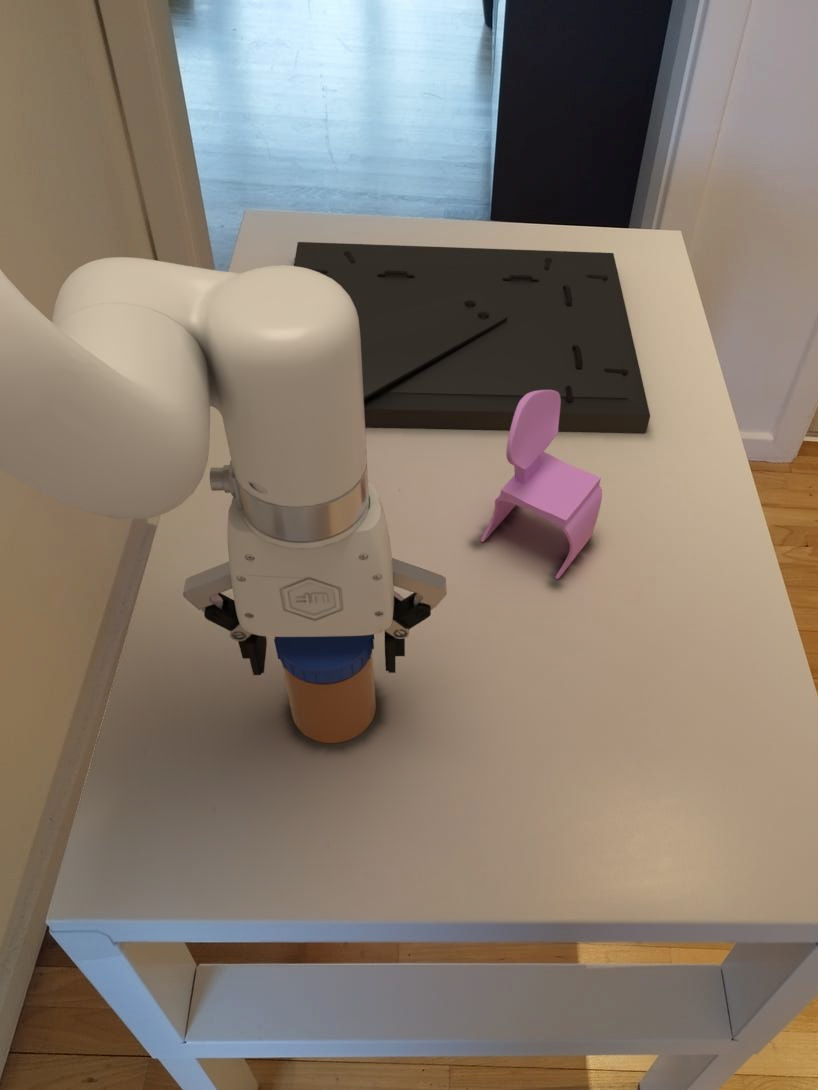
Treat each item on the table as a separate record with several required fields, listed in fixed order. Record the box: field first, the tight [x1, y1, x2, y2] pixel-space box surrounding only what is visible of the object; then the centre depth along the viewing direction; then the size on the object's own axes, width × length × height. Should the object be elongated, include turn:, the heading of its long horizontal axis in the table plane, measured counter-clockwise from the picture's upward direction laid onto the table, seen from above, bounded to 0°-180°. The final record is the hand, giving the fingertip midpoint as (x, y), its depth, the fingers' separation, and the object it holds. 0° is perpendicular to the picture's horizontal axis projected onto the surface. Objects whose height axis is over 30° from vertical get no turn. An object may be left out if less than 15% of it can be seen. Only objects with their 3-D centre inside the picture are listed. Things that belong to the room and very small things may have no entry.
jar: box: [281, 652, 377, 744], centre depth 68 cm, size 7×7×9 cm
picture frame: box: [293, 241, 651, 434], centre depth 101 cm, size 31×4×38 cm
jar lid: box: [273, 634, 375, 684], centre depth 65 cm, size 7×7×2 cm
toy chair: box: [480, 390, 603, 580], centre depth 78 cm, size 8×9×15 cm
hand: (326, 658), depth 67 cm, fingers open, 9 cm apart
